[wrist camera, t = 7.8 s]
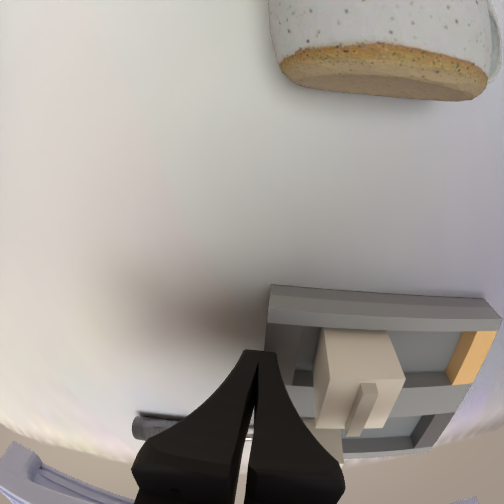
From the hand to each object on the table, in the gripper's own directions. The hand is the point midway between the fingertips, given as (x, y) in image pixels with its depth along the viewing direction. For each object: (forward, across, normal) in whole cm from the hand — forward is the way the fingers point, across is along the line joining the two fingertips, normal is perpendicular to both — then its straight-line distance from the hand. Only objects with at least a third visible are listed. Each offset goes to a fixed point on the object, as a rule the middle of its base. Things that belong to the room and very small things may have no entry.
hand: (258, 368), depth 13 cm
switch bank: (+3, -6, +3) cm, 8 cm away
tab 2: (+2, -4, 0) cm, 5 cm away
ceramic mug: (+3, -4, -16) cm, 17 cm away
